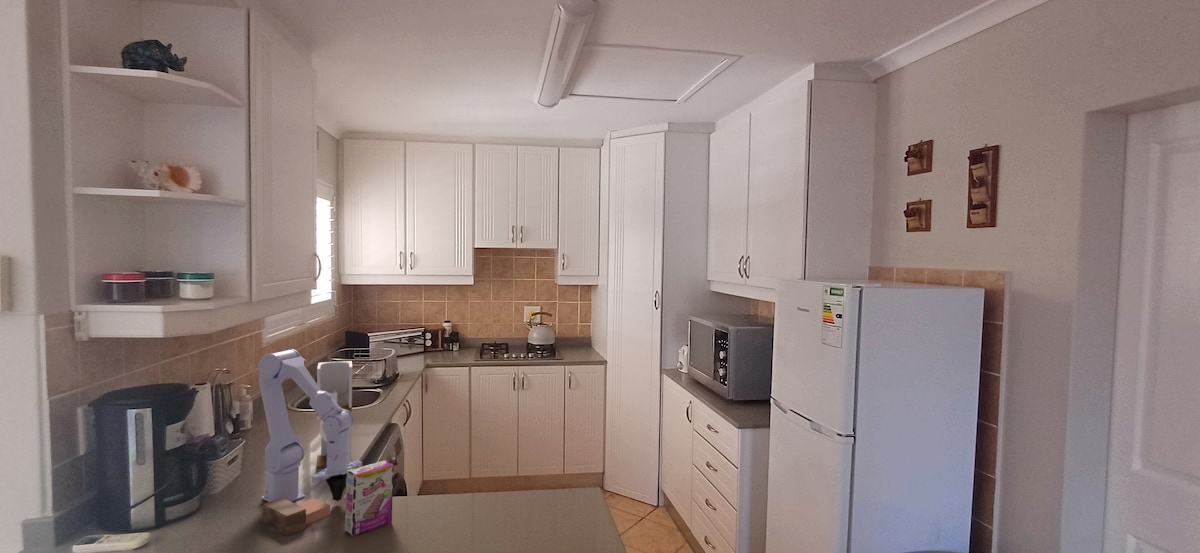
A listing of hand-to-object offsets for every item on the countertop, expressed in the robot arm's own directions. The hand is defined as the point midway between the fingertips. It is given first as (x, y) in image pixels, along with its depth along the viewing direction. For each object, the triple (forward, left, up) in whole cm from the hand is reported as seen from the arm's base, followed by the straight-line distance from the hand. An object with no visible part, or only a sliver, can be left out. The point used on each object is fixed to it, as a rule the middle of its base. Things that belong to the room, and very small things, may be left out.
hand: (337, 499), depth 159 cm
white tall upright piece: (-29, +17, -2) cm, 34 cm away
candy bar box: (+19, -3, -2) cm, 19 cm away
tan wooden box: (0, -15, -2) cm, 15 cm away
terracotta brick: (0, -8, -2) cm, 8 cm away
